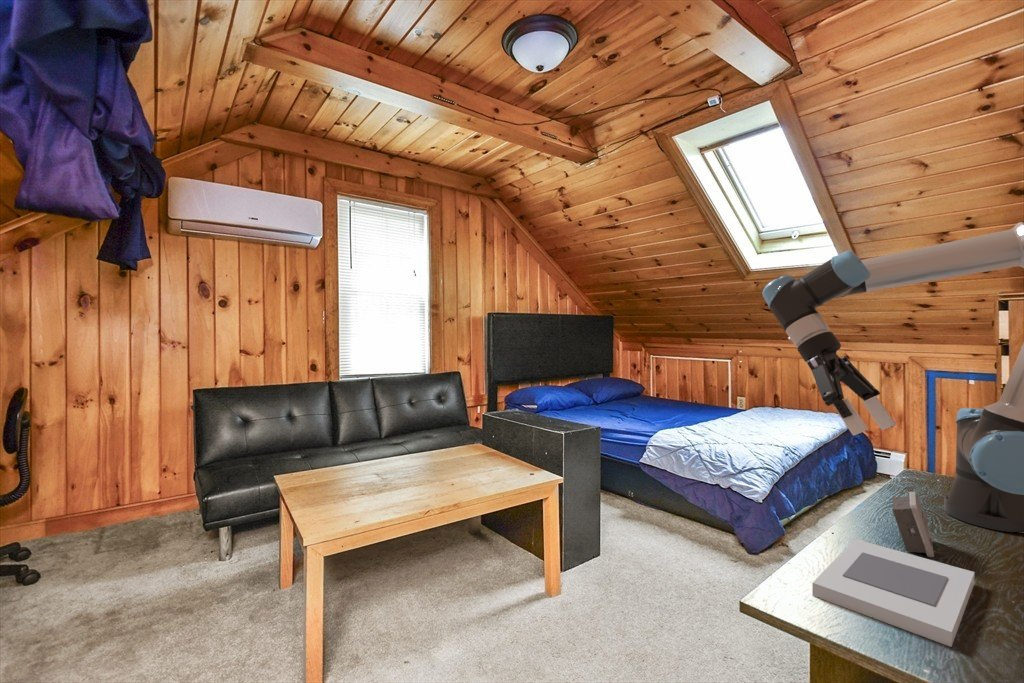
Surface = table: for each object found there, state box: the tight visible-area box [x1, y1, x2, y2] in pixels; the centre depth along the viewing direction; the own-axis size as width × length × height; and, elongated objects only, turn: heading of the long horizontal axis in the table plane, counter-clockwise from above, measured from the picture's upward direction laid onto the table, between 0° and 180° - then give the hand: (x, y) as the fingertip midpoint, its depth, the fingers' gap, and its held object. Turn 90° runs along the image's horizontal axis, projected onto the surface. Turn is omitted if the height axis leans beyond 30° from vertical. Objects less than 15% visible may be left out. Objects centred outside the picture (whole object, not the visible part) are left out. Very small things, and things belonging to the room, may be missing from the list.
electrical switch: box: [891, 491, 935, 558], centre depth 90 cm, size 9×5×9 cm, turn 141°
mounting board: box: [811, 538, 975, 648], centre depth 76 cm, size 22×16×2 cm
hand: (875, 430), depth 95 cm, fingers open, 13 cm apart
